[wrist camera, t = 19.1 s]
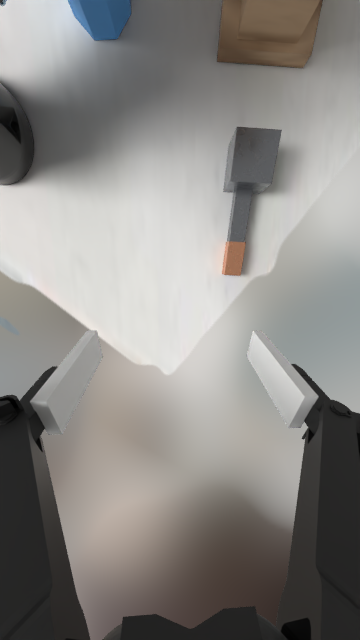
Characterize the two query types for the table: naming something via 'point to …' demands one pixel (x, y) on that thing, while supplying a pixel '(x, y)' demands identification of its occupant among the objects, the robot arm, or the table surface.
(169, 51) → the table surface
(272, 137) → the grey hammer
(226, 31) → the stand
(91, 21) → the water bottle
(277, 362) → the robot arm
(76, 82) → the table surface
